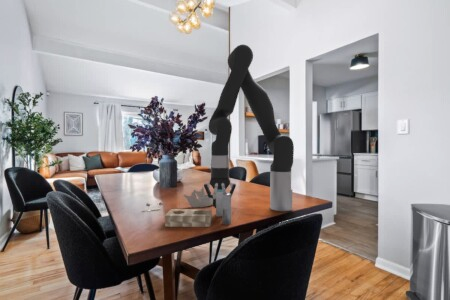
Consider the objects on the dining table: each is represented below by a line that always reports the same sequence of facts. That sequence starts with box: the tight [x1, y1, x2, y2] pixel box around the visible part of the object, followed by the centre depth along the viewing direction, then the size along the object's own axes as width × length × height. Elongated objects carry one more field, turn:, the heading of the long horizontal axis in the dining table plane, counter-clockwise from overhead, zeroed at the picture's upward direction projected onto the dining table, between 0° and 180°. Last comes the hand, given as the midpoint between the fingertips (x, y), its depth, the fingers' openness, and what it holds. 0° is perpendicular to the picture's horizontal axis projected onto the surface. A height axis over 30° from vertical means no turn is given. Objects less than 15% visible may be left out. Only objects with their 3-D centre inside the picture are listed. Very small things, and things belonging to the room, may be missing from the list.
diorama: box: [145, 202, 163, 212], centre depth 115 cm, size 9×27×4 cm, turn 16°
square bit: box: [215, 189, 223, 217], centre depth 98 cm, size 3×3×11 cm
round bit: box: [222, 192, 232, 226], centre depth 88 cm, size 3×3×11 cm
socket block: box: [164, 208, 213, 228], centre depth 89 cm, size 16×8×4 cm, turn 88°
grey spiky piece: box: [183, 186, 213, 208], centre depth 115 cm, size 13×11×10 cm
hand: (220, 207), depth 98 cm, fingers closed on square bit, 3 cm apart
